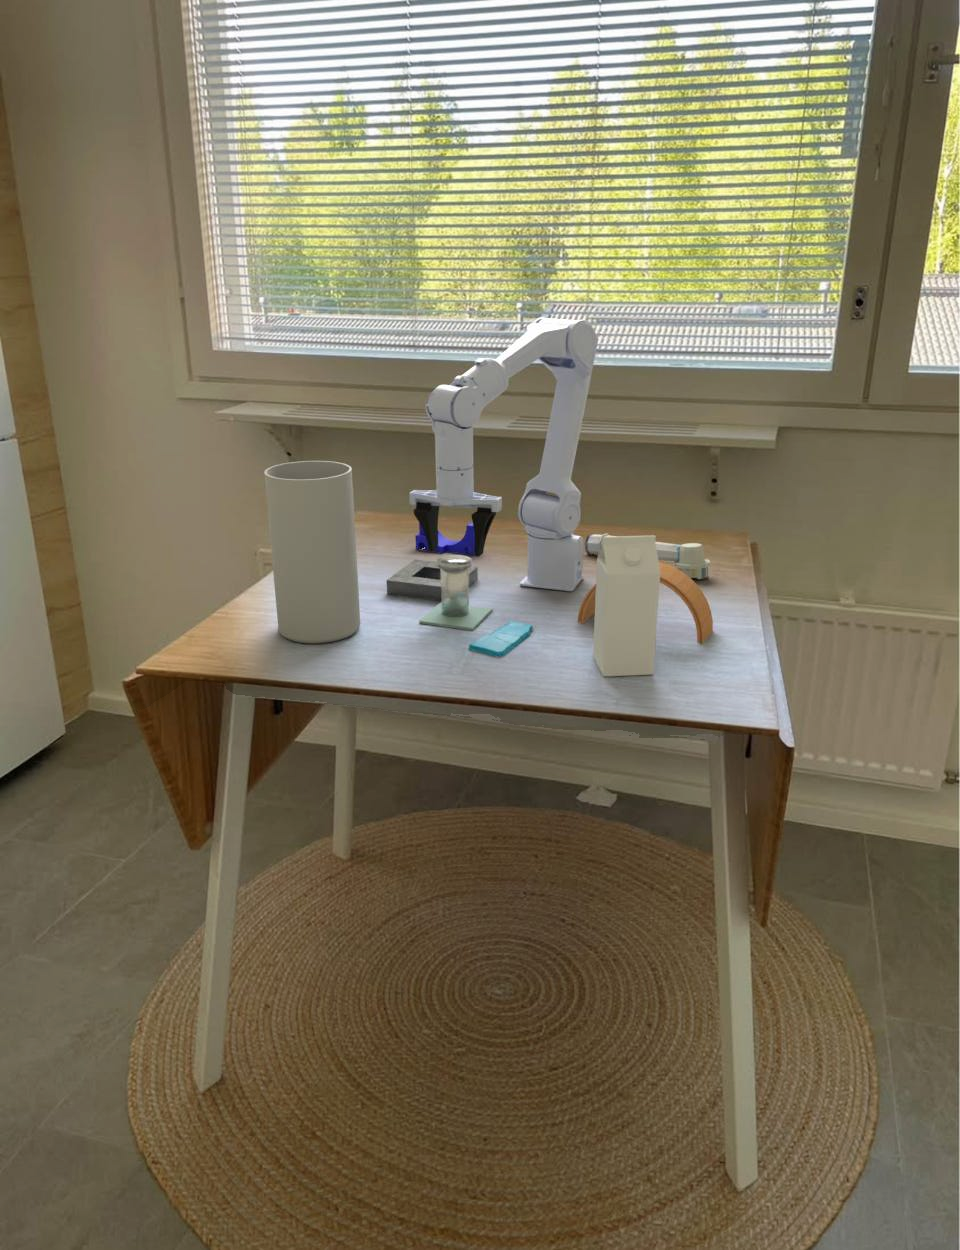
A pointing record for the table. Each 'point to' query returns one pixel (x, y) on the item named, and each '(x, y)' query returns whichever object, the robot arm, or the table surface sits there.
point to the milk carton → (626, 605)
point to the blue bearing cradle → (449, 542)
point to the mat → (457, 618)
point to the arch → (681, 587)
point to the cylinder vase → (313, 550)
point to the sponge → (502, 639)
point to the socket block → (422, 580)
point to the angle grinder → (666, 555)
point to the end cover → (454, 584)
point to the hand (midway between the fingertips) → (456, 552)
